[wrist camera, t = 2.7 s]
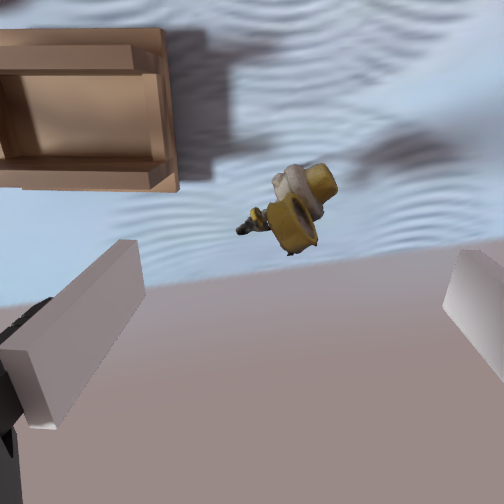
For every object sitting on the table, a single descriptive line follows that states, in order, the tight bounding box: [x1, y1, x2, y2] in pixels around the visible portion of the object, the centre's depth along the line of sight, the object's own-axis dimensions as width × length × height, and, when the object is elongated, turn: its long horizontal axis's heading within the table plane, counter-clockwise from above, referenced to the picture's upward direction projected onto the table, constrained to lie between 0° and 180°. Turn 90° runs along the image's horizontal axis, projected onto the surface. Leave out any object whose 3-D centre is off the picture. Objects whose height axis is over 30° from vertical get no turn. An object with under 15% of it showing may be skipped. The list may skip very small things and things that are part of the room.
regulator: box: [236, 163, 338, 256], centre depth 23 cm, size 8×4×15 cm, turn 125°
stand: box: [0, 28, 180, 193], centre depth 25 cm, size 12×14×9 cm
